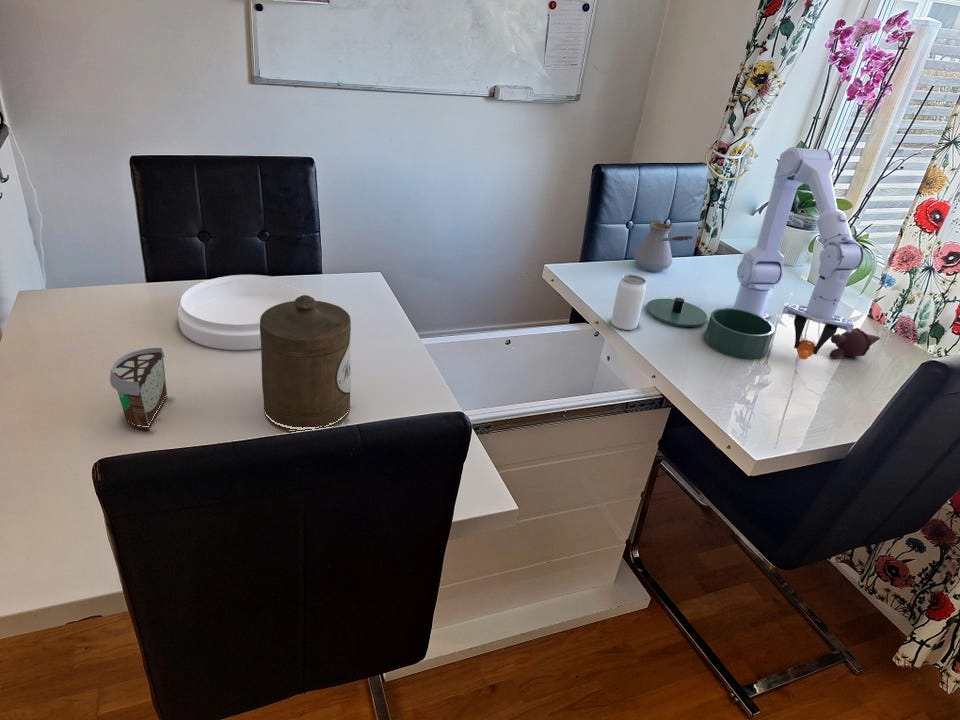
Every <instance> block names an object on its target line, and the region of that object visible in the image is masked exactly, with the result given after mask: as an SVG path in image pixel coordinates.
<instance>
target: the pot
mask: <svg viewBox="0 0 960 720" xmlns="http://www.w3.org/2000/svg"><path fill="white" fill-rule="evenodd" d="M774 334H775V326H774V324H773V323H772V322H771V321H770V320H768V319H767V318H763V317H761V316H759V315H756V314H754V313H751V312H747V311H743V310H739V309H733V308H730V307H729V308H728V307H726V308H717V309H715V310H713V311H711V314H710V316H709V320H708V322H707V326H706V330H705V333H704V341H705V343H706V344H707V345H708V346H710V347H711V348H713V350H715V351H717V352H719V353H722V354H723V355H727V356H729V357H734V358H739V359H744V360H746V359H747V360H757V359H760V358H763V357H764V356H765V355H766V354H767V353H768V351H769V348H770V344H771V342H772V339H773V337H774Z"/></svg>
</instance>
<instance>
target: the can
mask: <svg viewBox="0 0 960 720" xmlns="http://www.w3.org/2000/svg"><path fill="white" fill-rule="evenodd" d="M646 283H647V281H646V279H645V278H643V277H641V276H639V275H636V274H625V275H622V276H621V279H620V281H619V282H618V286H617V289H616V295H615V300H614V304H613V309H612V313H611V319H610V323H611V325H612V326H613V327H614V328H616V329H619V330H623V331H632V330H635V329H636V328H638V325H639V320H640V317H641V312H642V308H643V305H644V304H643V303H644V299H645V296H646V290H647V285H646Z"/></svg>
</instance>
